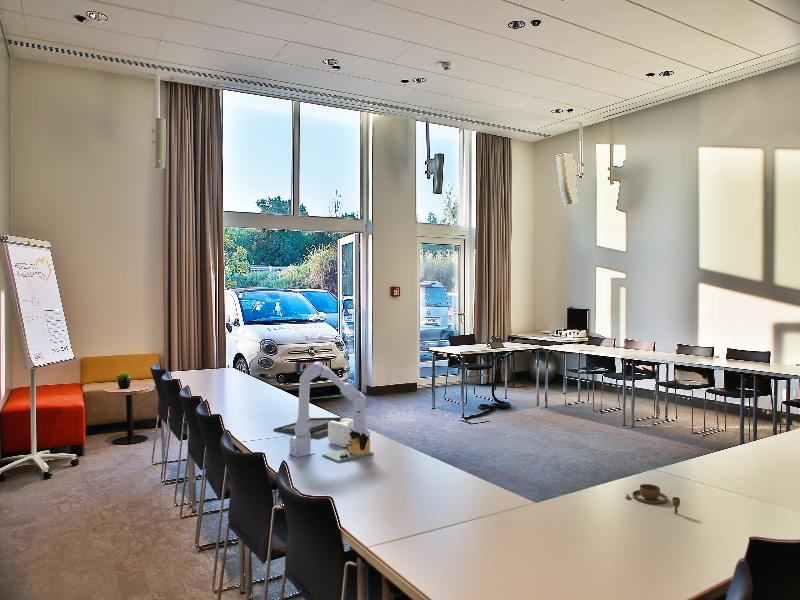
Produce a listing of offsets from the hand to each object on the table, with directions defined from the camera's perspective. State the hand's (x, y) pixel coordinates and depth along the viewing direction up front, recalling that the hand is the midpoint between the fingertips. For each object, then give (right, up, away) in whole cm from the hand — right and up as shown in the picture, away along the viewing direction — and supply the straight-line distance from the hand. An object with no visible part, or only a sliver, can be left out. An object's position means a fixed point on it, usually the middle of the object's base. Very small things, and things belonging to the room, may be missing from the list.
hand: (359, 448), depth 266 cm
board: (-5, -3, -2) cm, 6 cm away
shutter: (-29, -3, +50) cm, 58 cm away
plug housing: (-1, -2, -1) cm, 2 cm away
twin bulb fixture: (-6, -3, -8) cm, 11 cm away
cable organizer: (-9, -3, +19) cm, 21 cm away
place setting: (+111, -5, -61) cm, 127 cm away
